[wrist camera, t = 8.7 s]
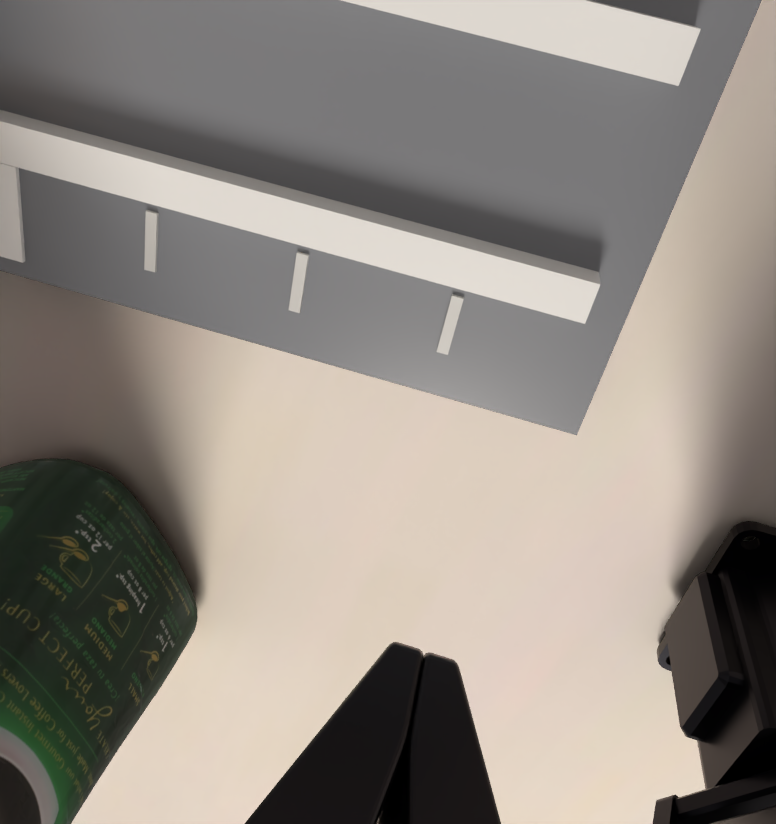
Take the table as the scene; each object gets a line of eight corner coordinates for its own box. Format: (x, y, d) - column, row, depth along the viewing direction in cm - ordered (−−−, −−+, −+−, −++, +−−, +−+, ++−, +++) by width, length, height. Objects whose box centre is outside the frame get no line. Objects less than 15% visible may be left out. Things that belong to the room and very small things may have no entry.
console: (806, -165, 14) (855, -191, 12) (575, 398, 21) (577, 451, 19) (-195, -395, 15) (-331, -459, 13) (-97, 208, 22) (-174, 236, 20)
